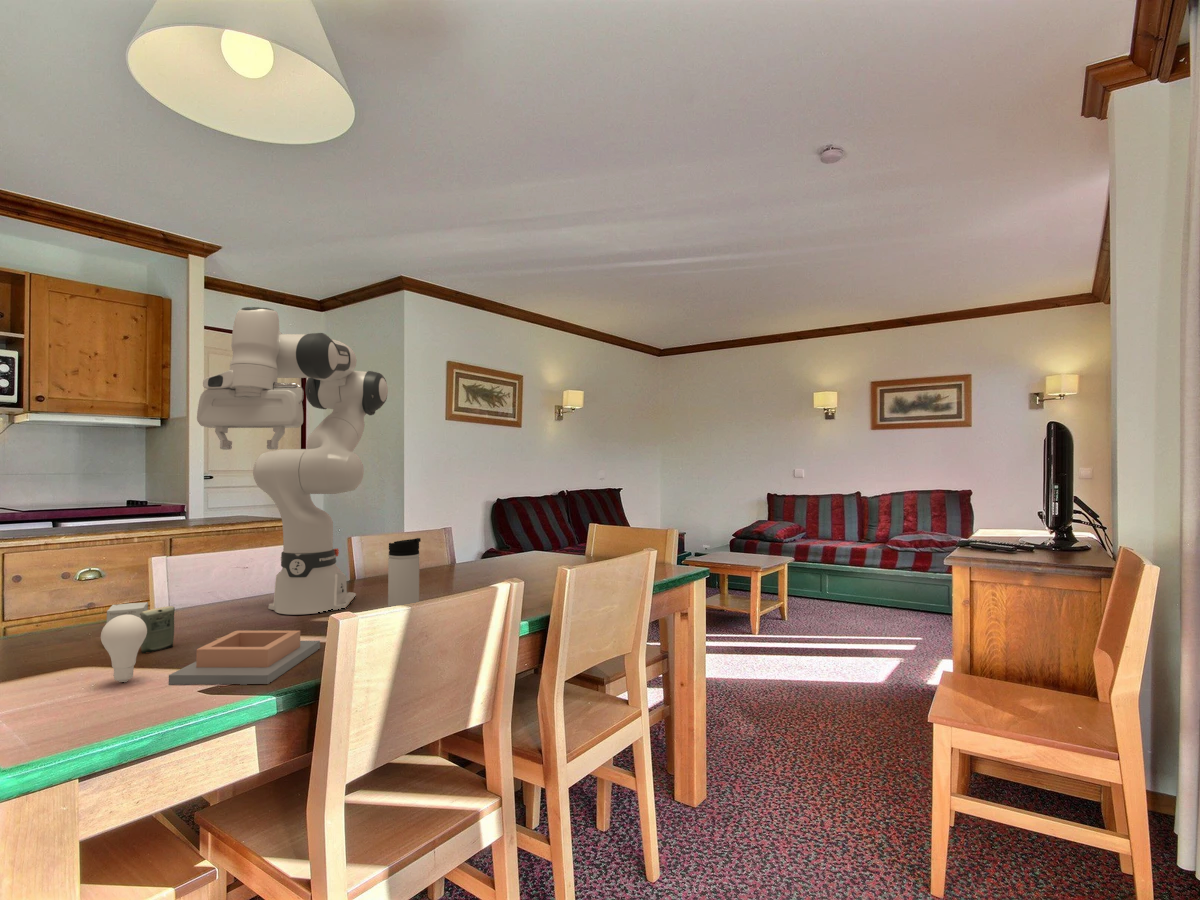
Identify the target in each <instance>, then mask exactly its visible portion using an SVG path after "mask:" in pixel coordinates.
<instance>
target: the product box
mask: <svg viewBox="0 0 1200 900" xmlns="http://www.w3.org/2000/svg"><path fill="white" fill-rule="evenodd" d="M146 610H149V602H148V601H147V602H130V603H129V602H128V603H120V604H119V603H118V604H112V605H111V606H110V607H109V609H107V610H106V624H107V623H108V622H109V621H110V620H112V619H113V618H115V617H117V616H121V615H134V616H137V617H139V618H141V616H140V613H141V612H143V611H146Z"/></svg>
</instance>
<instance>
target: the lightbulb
mask: <svg viewBox="0 0 1200 900" xmlns="http://www.w3.org/2000/svg"><path fill="white" fill-rule="evenodd" d="M146 635H147V627H146V624H145V622H144V621H143V620H142V619H141V618H139V617H137V616H134V615H121V616H117V617H115V618H113V619H112V620H110V621H109V622H108V623H107V622H106V624H105V625H104V626H103V627H102V630H101V633H100V640H101V643H102V646H103V647H104V649H105V650H106V652H107V653H108V655H109V657H110V660H111V661H110V662H111V668H113V679H114V681H117V682H119V683H120V682H124V683H127V682H128V681H129V680H131V679H132V678H133V677H134V670H135V669H134V668H135V667H134V666H135V665H136V662H137V657H138V653H139V650H140V649H141V645H142V643H143V641H144V639H145V638H146Z"/></svg>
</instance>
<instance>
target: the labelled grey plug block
mask: <svg viewBox="0 0 1200 900" xmlns="http://www.w3.org/2000/svg"><path fill="white" fill-rule="evenodd" d="M175 611H176V610H175V606H172V605H168V606H163V607H162V606H161V607H157V608H152V609H148V610H146V611H143V612H141V613H140V616H141V619H142V620H143V621H144V622H145V624H146V627H147V635H146V638H145V639H144V641H143V643H142V645H141V646H140V650H141V651H140V653H141V652H142V654H147V653H146V652H150V653H153V652H152V651H154V652H157V650H158V651H162V650H165V648H166V649H170V648H173V646H174V640H175ZM161 649H162V650H161Z"/></svg>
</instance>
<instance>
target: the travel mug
mask: <svg viewBox="0 0 1200 900" xmlns="http://www.w3.org/2000/svg"><path fill="white" fill-rule="evenodd" d="M420 542H422V541H421V537H416V538H412V539H411V538H410V539H404V540H397V541H393V542H389V543H388V559H387V561H388V562H387V563H388V564H387V565H388V568H387V569H388V571H387V575H388V577H387V579H388V580H387V581H388V582H387V608H388V607H391V606H396V605H404V604H410V603H416V602H419V603H420V550H419V549H420Z"/></svg>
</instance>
